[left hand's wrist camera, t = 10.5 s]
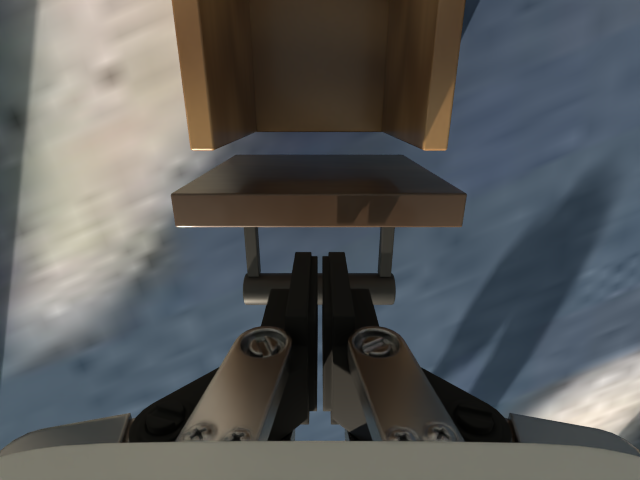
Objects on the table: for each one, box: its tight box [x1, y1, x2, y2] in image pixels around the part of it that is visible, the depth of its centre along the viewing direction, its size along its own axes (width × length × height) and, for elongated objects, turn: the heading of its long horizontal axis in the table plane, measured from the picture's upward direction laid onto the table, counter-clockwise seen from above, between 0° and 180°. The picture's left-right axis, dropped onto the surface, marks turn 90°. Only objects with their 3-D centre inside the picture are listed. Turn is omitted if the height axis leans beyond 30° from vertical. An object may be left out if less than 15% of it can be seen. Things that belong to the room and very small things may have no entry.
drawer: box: [171, 0, 467, 305], centre depth 14 cm, size 26×10×10 cm, turn 0°
